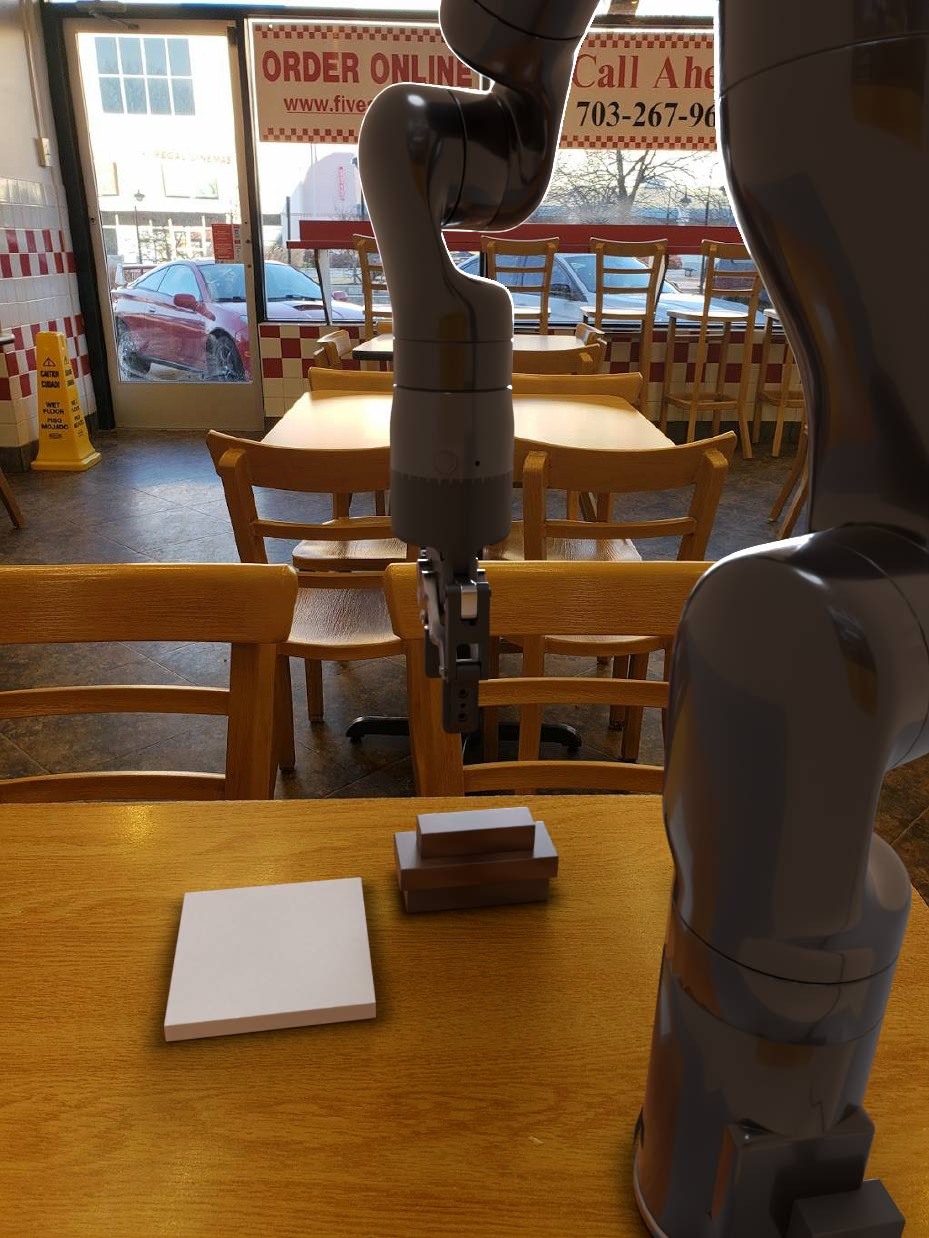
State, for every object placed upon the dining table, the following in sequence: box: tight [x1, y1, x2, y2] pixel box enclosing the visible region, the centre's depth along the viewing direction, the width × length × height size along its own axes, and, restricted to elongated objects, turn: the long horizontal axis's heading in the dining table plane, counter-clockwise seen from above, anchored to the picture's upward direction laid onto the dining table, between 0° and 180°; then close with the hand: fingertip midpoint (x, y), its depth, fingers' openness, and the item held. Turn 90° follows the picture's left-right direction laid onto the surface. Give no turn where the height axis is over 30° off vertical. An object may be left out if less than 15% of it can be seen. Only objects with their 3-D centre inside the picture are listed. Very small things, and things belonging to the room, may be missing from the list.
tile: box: [163, 877, 377, 1042], centre depth 60 cm, size 12×12×1 cm
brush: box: [393, 806, 560, 914], centre depth 66 cm, size 11×4×6 cm, turn 100°
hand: (449, 701), depth 63 cm, fingers open, 8 cm apart
